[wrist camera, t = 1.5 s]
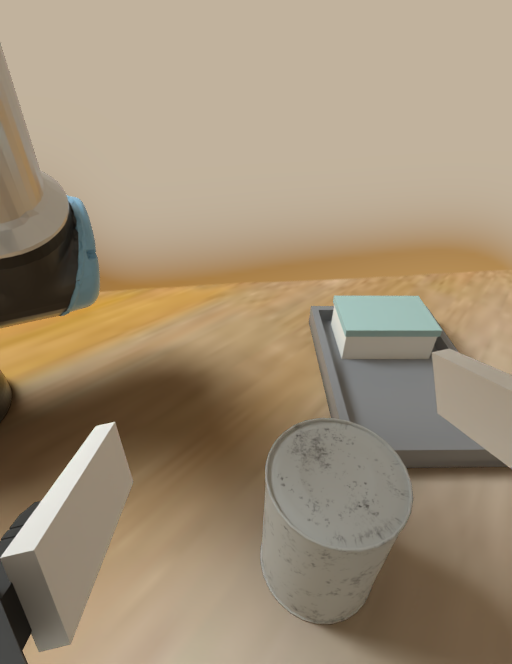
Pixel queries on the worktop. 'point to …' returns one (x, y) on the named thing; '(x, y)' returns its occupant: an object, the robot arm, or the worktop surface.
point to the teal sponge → (383, 327)
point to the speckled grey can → (330, 516)
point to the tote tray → (394, 401)
